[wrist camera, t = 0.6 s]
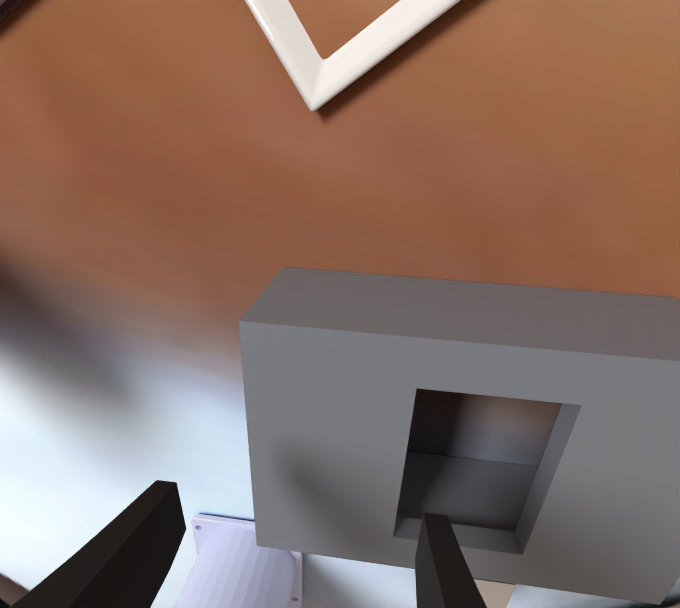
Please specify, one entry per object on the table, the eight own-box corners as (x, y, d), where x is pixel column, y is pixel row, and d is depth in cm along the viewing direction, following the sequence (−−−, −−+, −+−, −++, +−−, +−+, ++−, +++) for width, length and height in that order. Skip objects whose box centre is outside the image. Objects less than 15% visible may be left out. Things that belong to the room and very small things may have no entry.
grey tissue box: (588, 485, 21) (659, 604, 16) (287, 449, 23) (256, 545, 17) (674, 297, 16) (823, 374, 11) (283, 267, 18) (238, 321, 12)
